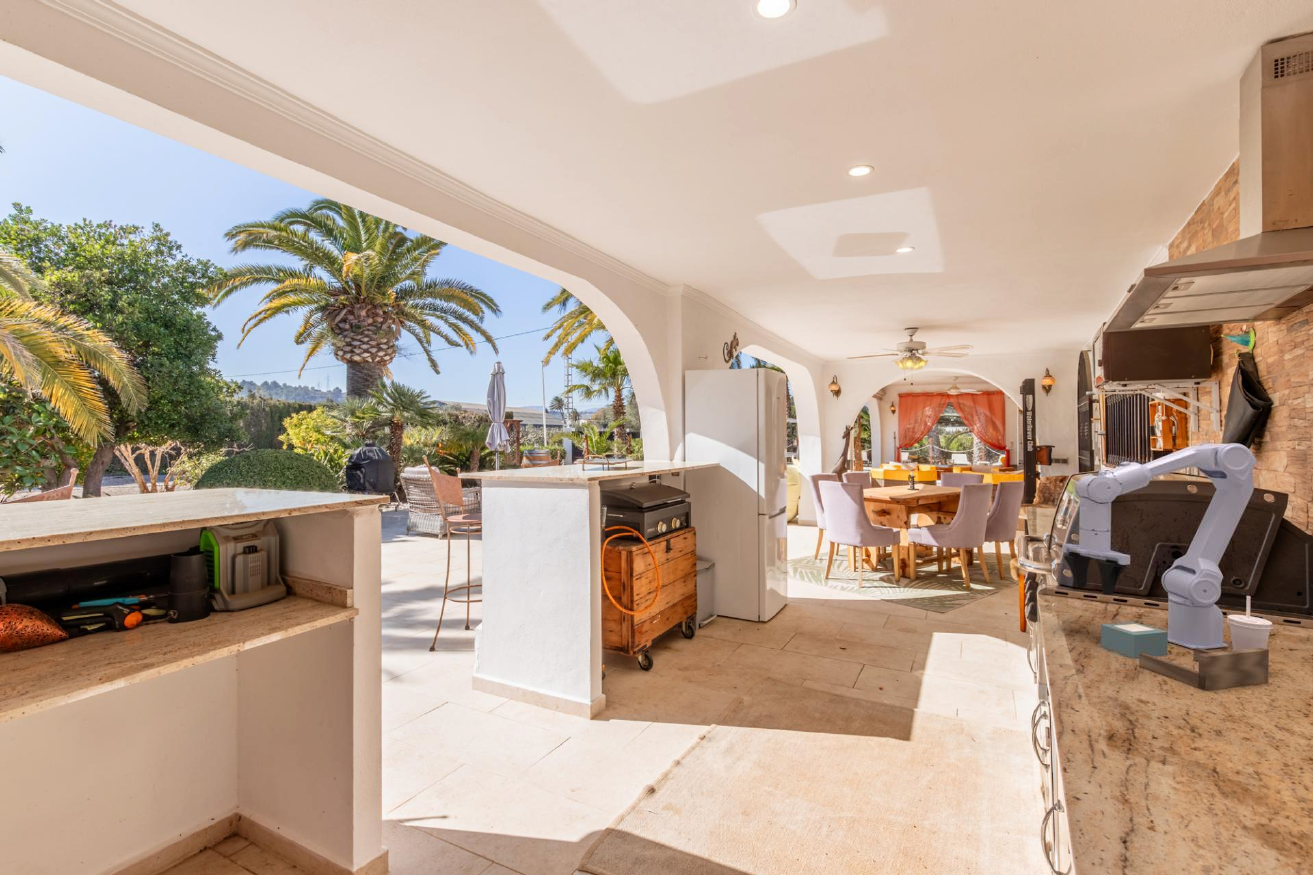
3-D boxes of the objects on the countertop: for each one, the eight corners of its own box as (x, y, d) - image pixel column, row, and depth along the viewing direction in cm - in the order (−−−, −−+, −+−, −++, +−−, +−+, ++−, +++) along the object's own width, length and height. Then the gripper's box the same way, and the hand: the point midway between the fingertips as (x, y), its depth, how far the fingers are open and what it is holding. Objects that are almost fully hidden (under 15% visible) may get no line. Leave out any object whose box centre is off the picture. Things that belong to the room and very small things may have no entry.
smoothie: (1262, 666, 121) (1263, 595, 121) (1278, 678, 115) (1280, 603, 115) (1220, 661, 124) (1221, 591, 123) (1234, 672, 118) (1235, 598, 118)
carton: (1133, 644, 133) (1133, 621, 133) (1167, 656, 127) (1167, 631, 127) (1100, 648, 131) (1101, 624, 131) (1133, 659, 124) (1134, 634, 124)
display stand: (1197, 659, 124) (1198, 630, 124) (1268, 682, 113) (1268, 650, 113) (1138, 666, 120) (1139, 635, 120) (1205, 690, 109) (1206, 656, 109)
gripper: (1052, 525, 143) (1051, 583, 144) (1112, 535, 129) (1111, 600, 129) (1076, 524, 145) (1075, 582, 145) (1138, 534, 131) (1137, 598, 131)
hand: (1093, 590), depth 138 cm, fingers open, 6 cm apart
